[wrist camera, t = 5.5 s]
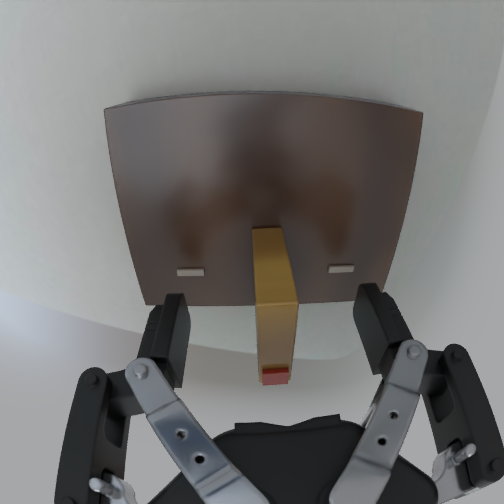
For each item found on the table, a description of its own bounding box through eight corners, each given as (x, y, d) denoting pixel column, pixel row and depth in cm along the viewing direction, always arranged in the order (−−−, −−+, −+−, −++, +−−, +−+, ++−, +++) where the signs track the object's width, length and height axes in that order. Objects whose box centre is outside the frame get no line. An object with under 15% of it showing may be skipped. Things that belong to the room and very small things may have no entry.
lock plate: (394, 104, 13) (425, 113, 10) (364, 269, 19) (380, 300, 16) (128, 101, 12) (101, 109, 10) (156, 274, 19) (144, 307, 16)
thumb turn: (251, 227, 13) (256, 310, 9) (282, 226, 13) (300, 307, 9) (255, 306, 16) (259, 388, 12) (279, 305, 16) (290, 385, 12)
